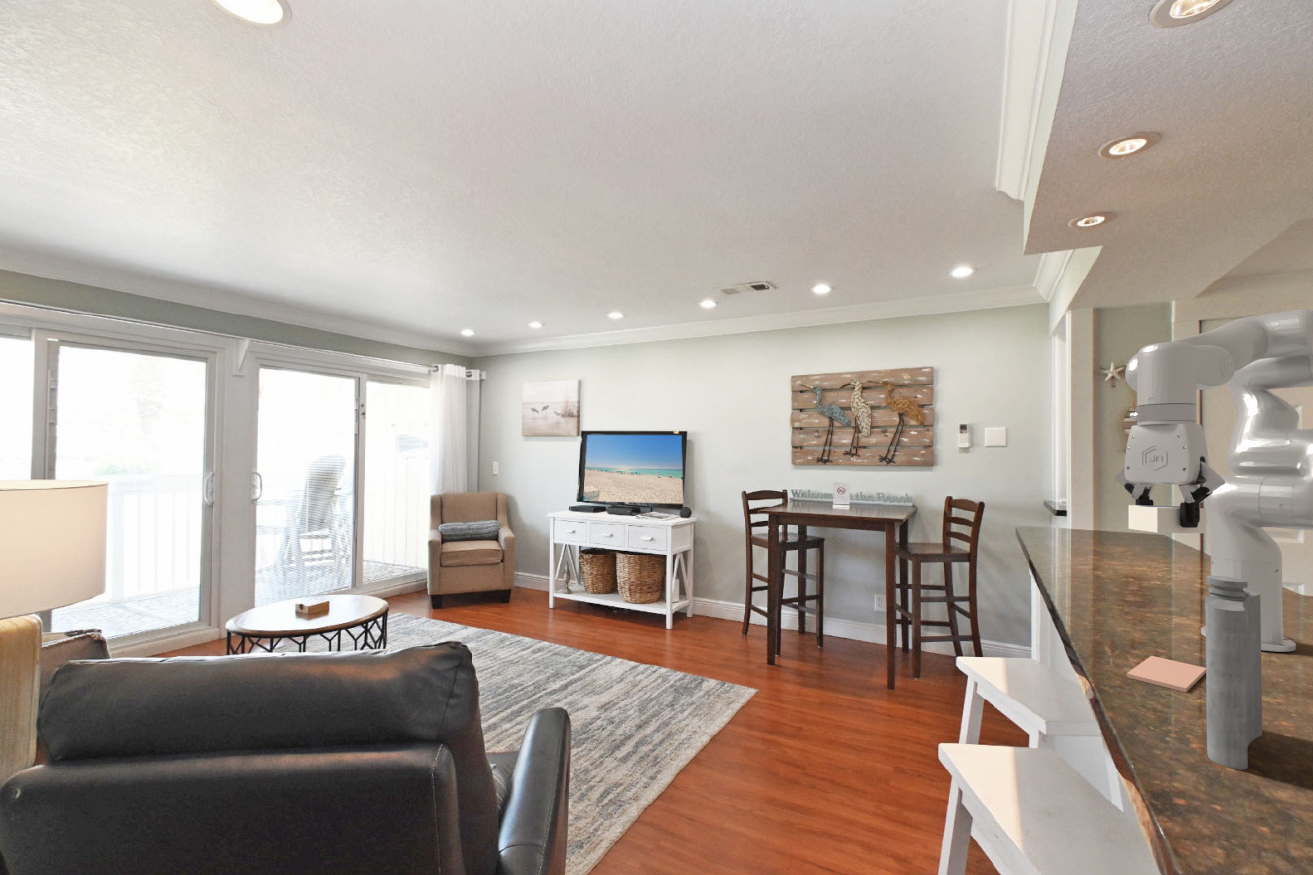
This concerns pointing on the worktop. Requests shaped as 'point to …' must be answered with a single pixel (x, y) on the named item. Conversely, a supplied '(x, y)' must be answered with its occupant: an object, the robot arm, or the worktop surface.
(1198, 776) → the worktop surface
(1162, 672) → the mat
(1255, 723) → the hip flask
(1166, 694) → the worktop surface
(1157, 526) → the card box
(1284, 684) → the worktop surface
